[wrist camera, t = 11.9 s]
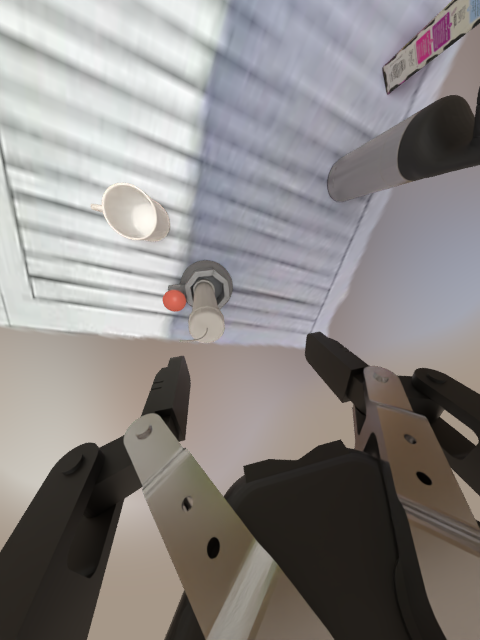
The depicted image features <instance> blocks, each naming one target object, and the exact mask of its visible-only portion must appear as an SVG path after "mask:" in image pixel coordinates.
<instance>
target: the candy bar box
mask: <svg viewBox="0 0 480 640" xmlns="http://www.w3.org/2000/svg"><path fill="white" fill-rule="evenodd" d="M479 23H480V0H452V1H451V2H450V3H449V4H448V5H447V6H446V7H445V8H444V9H443V10H442V11H441V12H440V13H439V14H438V15H437V16H436V17H435V18H434V19H432V20H431V21H430V22H429V23H428V24H427V25H426V26H425V27H424V28H423V29H422V30H421V31H420V32H419V33H418V34H417V35H416V36H415V37H414V38H413V39H412V40H410V41H409V42H408V43H407V44H406V45H405V46H404V47H403V48H402V49H401V50H400V51H399V52H398V53H397V54H396V55H395V56H394V57H393V58H392V59H391V60H390V61H389V62H388V63H387V64H386V65H385V66H384V67H383V72H384V77H385V84H386V90H387V94H389V93H390V92H391V91H393V90H394V89H395V88H397V87H398V86H399V85H400V84H402V83H403V82H404V81H406V80H407V79H408V78H410V77H411V76H412V75H413V74H415V73H416V72H417V71H419V70H420V69H421V68H422V67H424V66H425V65H426V64H428V63H429V62H430V61H431V60H433V59H434V58H435V57H437V56H438V55H439V54H441V53H442V52H443V51H444V50H446V49H447V48H448V47H450V46H451V45H452V44H454V43H455V42H456V41H457V40H459V39H460V38H461V37H463V36H464V35H465V34H466V33H468V32H469V31H470V30H472V29H473V28H474V27H475V26H477V25H478V24H479Z"/></svg>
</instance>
